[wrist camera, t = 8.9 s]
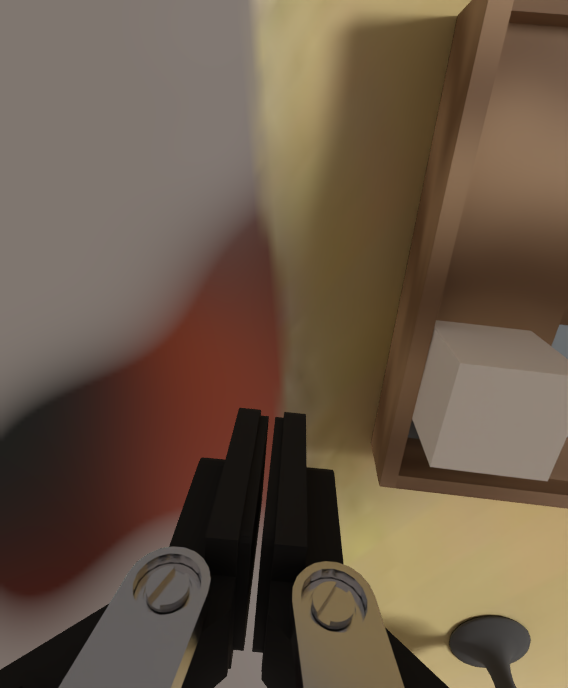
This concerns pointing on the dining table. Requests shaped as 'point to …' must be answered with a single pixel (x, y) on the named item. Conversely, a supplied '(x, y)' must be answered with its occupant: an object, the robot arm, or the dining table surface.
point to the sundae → (491, 646)
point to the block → (492, 401)
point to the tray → (486, 227)
